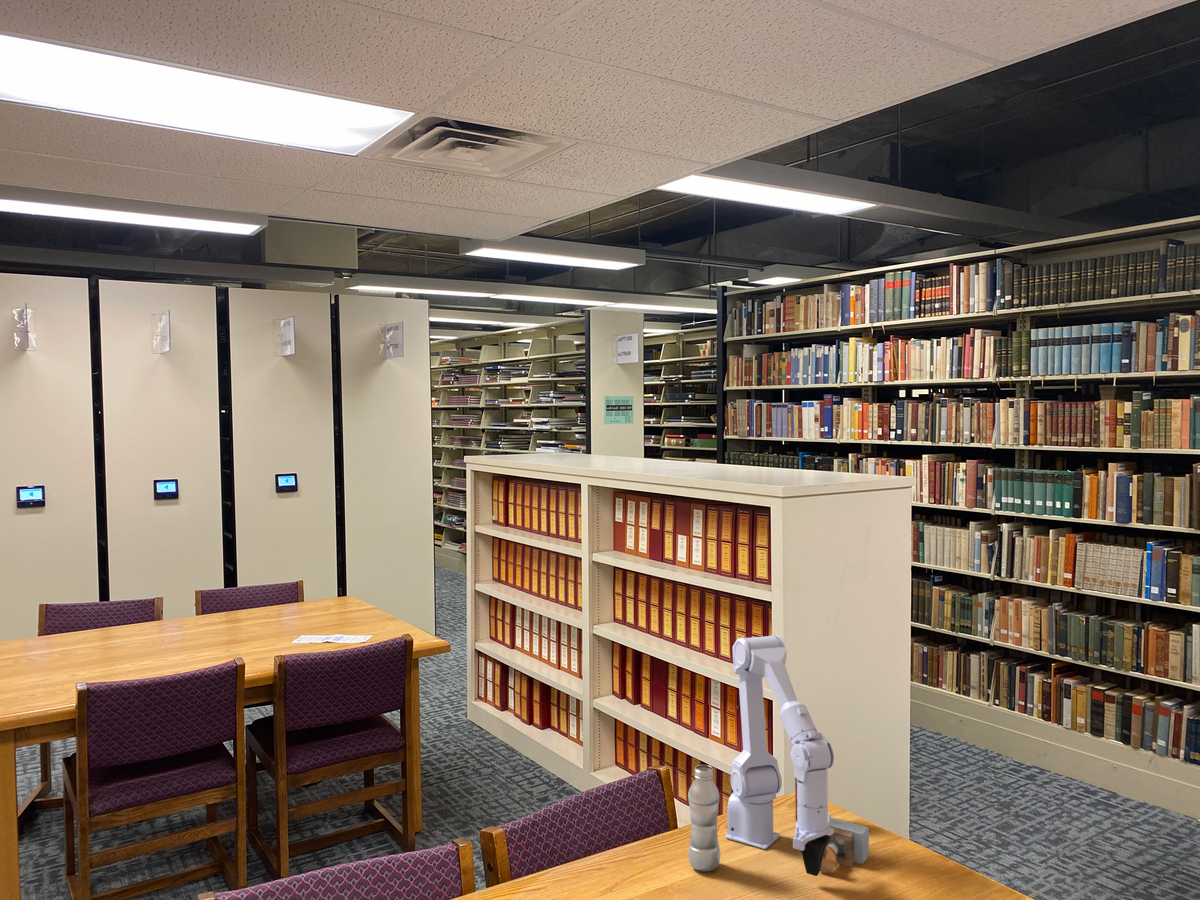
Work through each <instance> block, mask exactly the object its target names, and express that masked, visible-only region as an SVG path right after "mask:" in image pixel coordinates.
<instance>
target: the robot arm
mask: <svg viewBox="0 0 1200 900" xmlns="http://www.w3.org/2000/svg"><path fill="white" fill-rule="evenodd" d="M732 661H733V662H732V664H733V665H732V666H733V672H734V674H736V675H737V676H738V677H737V678H738V690H739V692H738V693H739V707H740V708H739V709H740V720H741V721H740V723H741V736H742V751H741V752H740V753H739V754H738V755H736V757H734V759H733V760H732V761H731V763H732V765H731V766H732V767H731V774H730V786H731V789H732V791H733V792H732V793H731V794H730V796H729V797H728V803H727V807H726V811H727V812H726V813H727V814H726V815H727V817H726V818H727V820H726V821H727V822H726V823H727V828H726V829H727V834H726V835H725V838H726V839H728V840H731V841H734V842H735V841H736V842H739V843H742V844H745V845H748V846H751V847H756V848H758V849H762V850H767V849H768V848H770V846H771V845H772V844H774V843H775V842H776V841H777V840H778V839H779V838H780V837H781V834H780V833H779V832H775V831H774V800H775V799H777V794H778V793H780V791H781V788H782V785H783V784H782V783H783V781H782V775H781V772H780V769H779V763H778V760H777V758H776V757H775V756H774V755H772V754H770V753H769V752H768V747H767V746H768V745H767V733H766V731H767V730H766V729H767V728H766V718H765V702H764V689H763V687H764V686H763V678H765V679H766V682H767V684H768V686H769V687H770V689H771V691H772V693H773V695H774V696H775V698H776V699H777V702H778V704H779V706H780V708H781V709H780V713H779V719H780V722H781V723H782V726H783V728H784V730H785V733H786V735H787V738H788V740H789V742H790V745H791V751H790V759H791V764H792V766H793V774H794V779H795V778H797V822H796V824H795V833H794V836H793V838H792V849H795V850H799V851H800V854H801V856H802V861H803V864H804V868H805V872H806V874H807V875H810V876H811V875H812V876H814V877H817V876H818V875H819V874H820V872H821V871H820V868H821V864H822V859H823V855H824V851H825V849H826V846H827V844H828V842H829V840H830V835H832V834H833V833H834V829H833V828H830V827H829V824H831V818H832V814H831V812H830V813H829V812H828V810H829V809H828V805H829V804H828V803H829V802H828V801H829V797H828V790H829V789H828V784H829V783H828V769H830V768H832V767H833V765H834V762H835V761H834V760H835V756H834V749H833V747H832V744H831V742H830V741H829V739H828V738H826V737H825V736H824V735H823V734H822V733H821V732H819V731H818V729H817V727H816V725H815V723H814V721H813V719H812V717H811V715H810V713H809V710H808V708H807V706H806V705H805V704H804V703H802V702H799V701H798V698H797V696H796V693H795V690H794V687H793V685H792V681H791V679H790V677H789V673H788V670H787V668H786V661H787V650H786V647H785V643H784V641H783V639H782V638H781V637H780V636H779V635H777V634H772V635H768V636H767V635H766V636H765V635H764V636H755V637H753V636H752V637H739V638H737V639H736V641H735V642H734V644H733V645H732Z"/></svg>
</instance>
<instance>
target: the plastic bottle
mask: <svg viewBox="0 0 1200 900" xmlns="http://www.w3.org/2000/svg"><path fill="white" fill-rule="evenodd" d="M713 771H714V769H713V767H712V766H710V765H707V764H699V765H696V766H695V767H694V774H693V775H694V779H695V780H694V781H693V782H692V784H691V786H690V787H689V790H688V792H687V793H688V794H687V799H688V804H689V812H690V815H689V816H690V836H689V837H690V841H689V843H688V844H689V846H688V853H687V855H688V856H687V857H688V861H689V864H690V866H691V867H692V868H693V870H694V869H695V870H696V871H699V872H711V871H714V870H716V869H717V868H718V866H719V865H720V861H721V848H720V845H719V837H718V813H719V804H720V792H719V789H718V787H717V786H716V784H715V783H714V780H713V779H714V774H713V773H714V772H713Z"/></svg>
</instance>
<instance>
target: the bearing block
mask: <svg viewBox="0 0 1200 900" xmlns="http://www.w3.org/2000/svg"><path fill="white" fill-rule="evenodd" d="M829 827H832V828H836V829H840V830H844V831H847V832H851V833H854V863H857V864H860V865H863V864H865V862H866V861H867V860H868V858H869V857H870V832H869V831H870V827H869V826H865V825H861V824H856V823H853V822H850V821H849V822H848V821H846V820H841V819H837V818H834V817H831V824H829ZM834 838H835V837H831V836H830V840H829V842H828V844H829V843H830V842H831V841H832V840H833V839H834ZM839 853H842V854H845V846H844V847H843V849H842V850H841V851H840V852H839Z"/></svg>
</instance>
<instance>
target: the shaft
mask: <svg viewBox="0 0 1200 900" xmlns="http://www.w3.org/2000/svg"><path fill="white" fill-rule="evenodd" d="M844 846H845V840H842V839H838V838H834V839H833V840H832V841H831V842H830V843H829V844H828V845H827V846H826V849H825V851H824V855H823V859H822V864H821V868H820V872H822V873H830V872H832V871H833V870H834V869H835V868H836V866H837V864H838V863H837V854H838V853H839V852H840V851H841V850H842V849H843V847H844Z"/></svg>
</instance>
